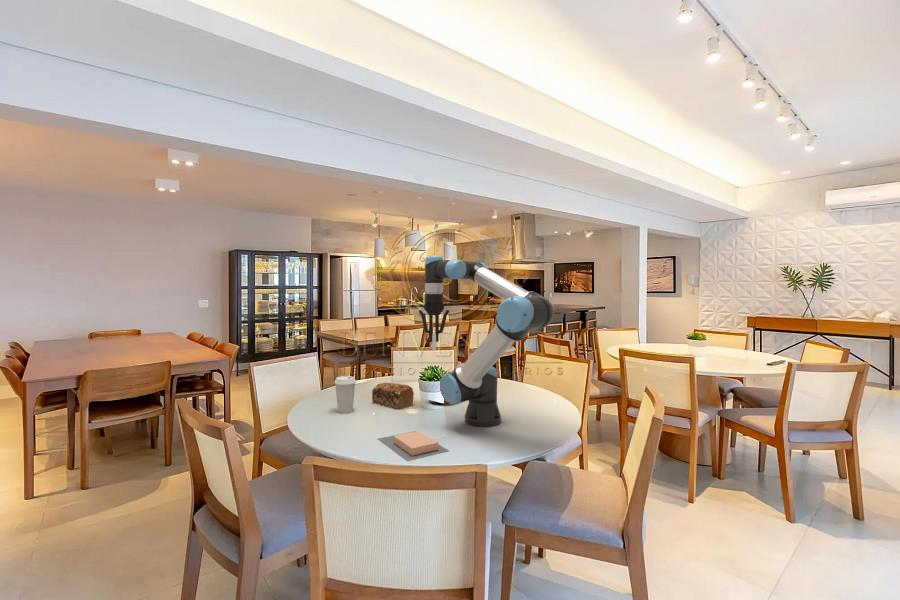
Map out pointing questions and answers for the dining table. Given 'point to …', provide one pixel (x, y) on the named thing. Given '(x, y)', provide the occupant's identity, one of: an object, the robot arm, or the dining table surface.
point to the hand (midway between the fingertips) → (433, 349)
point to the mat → (405, 455)
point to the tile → (415, 443)
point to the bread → (393, 395)
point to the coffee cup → (345, 393)
